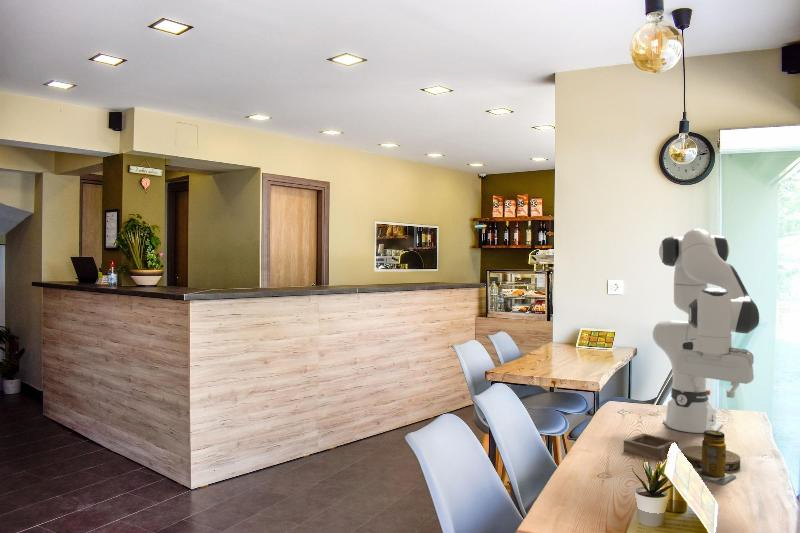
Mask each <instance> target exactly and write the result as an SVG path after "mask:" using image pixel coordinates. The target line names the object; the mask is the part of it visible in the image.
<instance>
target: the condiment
mask: <svg viewBox="0 0 800 533" xmlns="http://www.w3.org/2000/svg"><path fill="white" fill-rule="evenodd" d="M725 441H726V438H725V433H724V432H723V431H720V430H718V431H715V430H706V431H704V433H703V440H702V441H701V442H702V443H701V446H702V468H701V469H702V470H699V469H697V470H696V471H697V473H698V474H699V476H701V477H704V478H708V479H710V480H714V481H716V480H719V479H722V478H726V477H729V476H731V475H732V474H731V473H727V474H726V472H725V462H726V461H725V460H726V450H727V444H726V442H725ZM730 474H731V475H730Z"/></svg>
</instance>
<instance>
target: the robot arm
mask: <svg viewBox="0 0 800 533" xmlns="http://www.w3.org/2000/svg"><path fill="white" fill-rule="evenodd" d="M658 254H659V257H660V260H661V263H662V264H663V265H664V266H668V267H674V273H673V274H674V275H673V302H674V305H675V307H676V308H677V309H679V310H680V311H682V312H683V313H686V314H687V315H688V320H677V319H675V320H673V319H670V320H662V321H659V322H657V323H656V324H655V326H654V327H653V331H652V339H653V342H654V343H655V344H656V345H657V347H658V348H660V349H661V350H662V351H663V352H664V353H665V355H666V356H667V358H668V359H669V362H670V365H671V370H672V371H671V372H672V387H671V389H670V390H671V391H670V398H671V399H670V400H668V402H667V408H666V418H665V419H663V420H662V424H664V425H666V426H667V427H668V428H670V429H673V430H676V431H680V432H685V433H695V434H697V433H698V434H704V431H706V430H715V431H720V429H721V428H722V427H723V422H721V421H718V420H717V419H716V418H717V413H716V412H717V411H716V410H717V409H715V407H714V406H713V405H712V404H711V403H710V402H709V396H711V390H710V389H707V379H710V380H711V379H712V380H716V381H717V380H719V381H725V382H730V386H731V389H729V390H726V398H731V399H734V398H735V391H737V389H738V388H739V386H740V384H745V385H749V384H750V383H752V382H753V381H754V377H755V376H754V367H753V365H754V363H755V362H754V357H755V356H754V354H753V353H752V352H751V351H749V349H744V348H735V347H732V339H733V338H732V337H733V336H732V333H738V334H745V335H746V334H749V333H751V332H752V331H753V330H755V329H756V328H757V327H758V326H759V323H760V311H759V309H758V306H757V304H756V303H755V301H754V300H753V299H752V298H751V296H750V294H749V293H748V291H747V289H746V287H745V284H744V283H743V281H742V280H741V277H740V276H739V274H738V272H737V270H736V269H735V267H734V266H733V265H731V264H730V263H727V260H728V259H729V255H730V245H729V242H728V241H727V239H726V237H724V236H722V235H718V234H717V235H716V234H713V235H711V233H710V232H708V231H707V230H705V229H701V228H695V229H691V230H689V231H687V232H686V233H685V234H684V235H681V236H680V235H679V236H669V237H665V238H664V239H663V240H661V243H660V246H659V249H658ZM708 285H713V286H717V287H708Z"/></svg>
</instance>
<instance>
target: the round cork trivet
mask: <svg viewBox="0 0 800 533" xmlns="http://www.w3.org/2000/svg"><path fill="white" fill-rule="evenodd" d="M682 453H683V454H684V456H685V457H686V458H687V460H688V461H689V462H690V463H691V464H692V465H693V466H692V467H694V468H696V469H701V468H702V445H691V446H685V447H683V448H682V450H681V454H682ZM725 461H726V462H725V473H726V472H729V473H731V472H735V471H738V470H740V469H741V456H740V455H739V454H737V453H735V452H733V451H730V450H727V449H726V460H725Z"/></svg>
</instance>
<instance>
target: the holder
mask: <svg viewBox="0 0 800 533" xmlns="http://www.w3.org/2000/svg"><path fill="white" fill-rule="evenodd" d="M674 442H675V443H676V444H677V446H678V447H679V441H677V440H673V439H668V438H665V437H660V436H655V435H651V434H648V433H640V434H637V435H635V436H633V437H630V438H627V439H624V440H623V452H625V453H627V454H628V453H629V454H632V455H637V456H639V457H644V458H647V459H651V460H652V459H653V460H655V461H662V460H663V459H666V458H668V457H667V454H668V451H669V448H670V446H671V444H672V443H674Z"/></svg>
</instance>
